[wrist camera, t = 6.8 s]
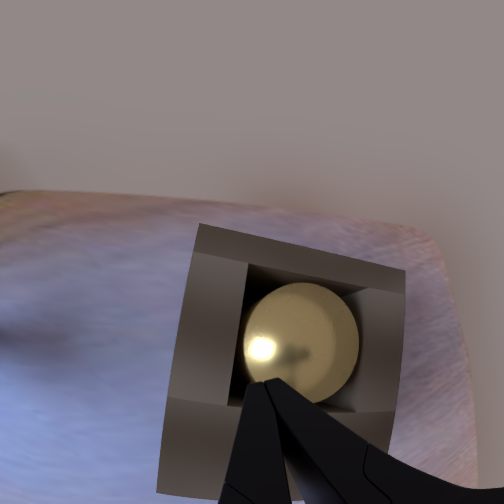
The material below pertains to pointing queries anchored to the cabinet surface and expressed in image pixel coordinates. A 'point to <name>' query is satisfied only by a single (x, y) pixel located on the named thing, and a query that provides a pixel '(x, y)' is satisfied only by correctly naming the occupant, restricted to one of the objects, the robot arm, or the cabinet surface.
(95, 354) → the cabinet surface
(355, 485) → the robot arm
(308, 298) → the brass button
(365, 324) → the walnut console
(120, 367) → the cabinet surface
